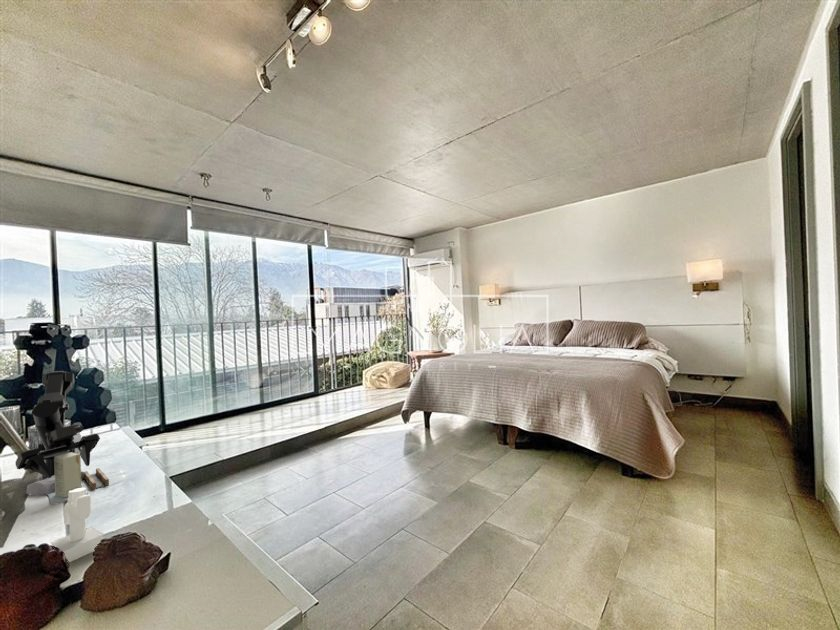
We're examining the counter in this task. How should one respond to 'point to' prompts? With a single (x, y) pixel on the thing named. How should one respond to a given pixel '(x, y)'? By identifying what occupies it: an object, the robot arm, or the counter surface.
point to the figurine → (78, 527)
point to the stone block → (44, 486)
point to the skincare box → (67, 473)
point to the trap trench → (96, 479)
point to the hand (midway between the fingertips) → (70, 471)
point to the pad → (59, 497)
